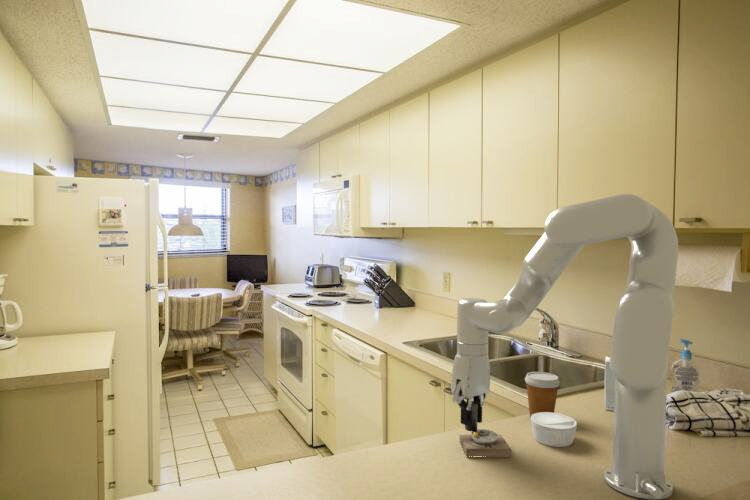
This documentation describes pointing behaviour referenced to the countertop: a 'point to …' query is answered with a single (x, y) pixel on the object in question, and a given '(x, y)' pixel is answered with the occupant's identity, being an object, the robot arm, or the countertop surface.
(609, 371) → the skincare box
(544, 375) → the disposable coffee cup
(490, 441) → the capstan dial
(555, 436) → the ramekin
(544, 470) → the countertop surface
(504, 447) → the level stand
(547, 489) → the countertop surface
